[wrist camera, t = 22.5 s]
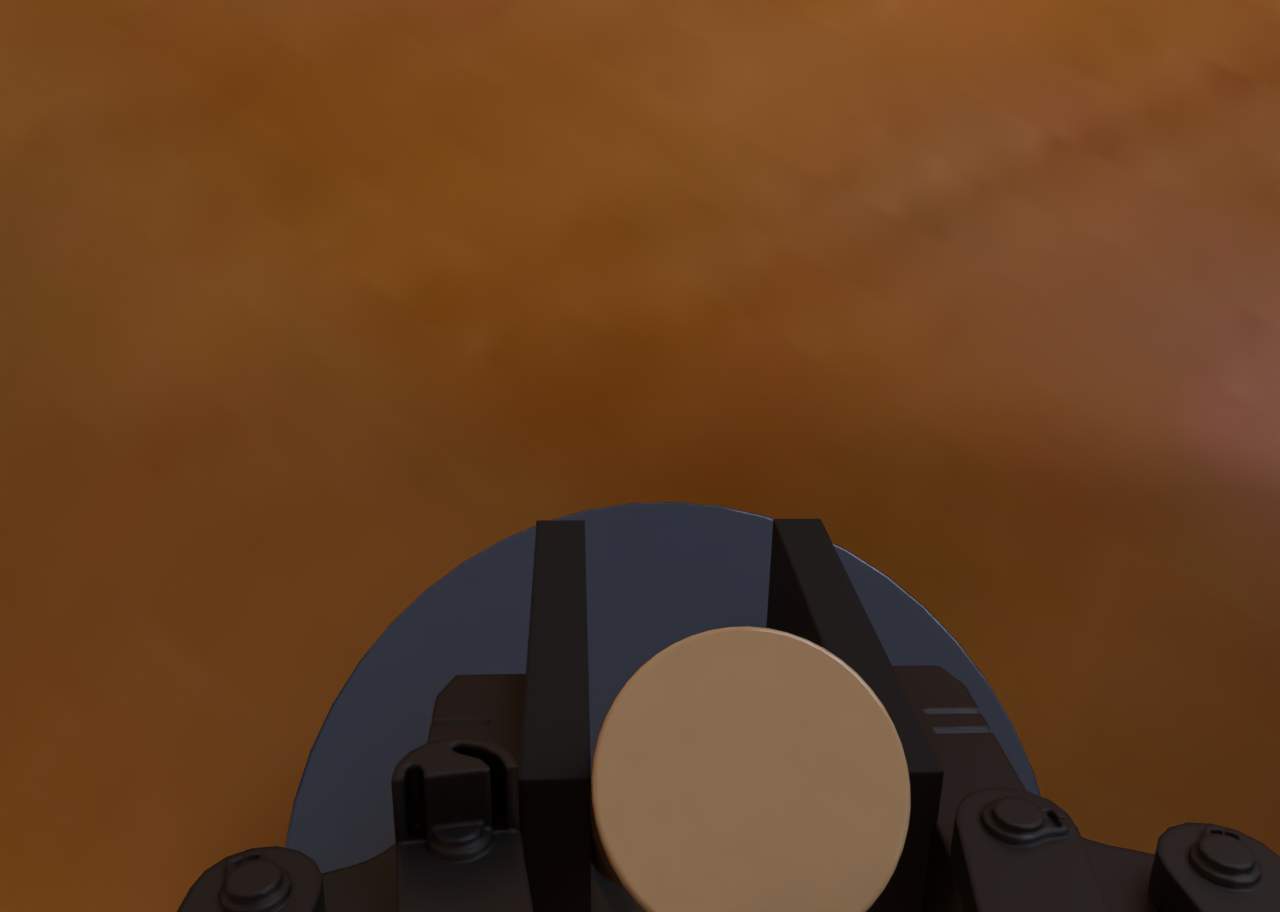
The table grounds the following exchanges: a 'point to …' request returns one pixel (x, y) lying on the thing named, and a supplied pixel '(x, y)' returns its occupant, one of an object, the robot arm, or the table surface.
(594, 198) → the table surface
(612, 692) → the lid
